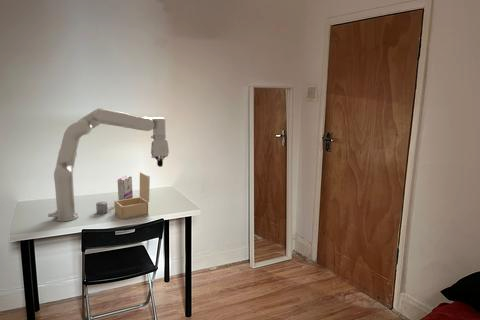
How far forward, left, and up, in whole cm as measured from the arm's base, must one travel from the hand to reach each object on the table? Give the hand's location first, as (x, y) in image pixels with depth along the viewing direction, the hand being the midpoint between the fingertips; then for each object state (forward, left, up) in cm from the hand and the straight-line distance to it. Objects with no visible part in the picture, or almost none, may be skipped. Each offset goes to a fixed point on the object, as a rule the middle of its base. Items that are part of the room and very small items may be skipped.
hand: (160, 166), depth 233 cm
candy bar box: (-13, +26, -28) cm, 41 cm away
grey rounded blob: (-33, +12, -28) cm, 45 cm away
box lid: (-11, 0, -12) cm, 16 cm away
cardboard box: (-19, 0, -28) cm, 34 cm away
